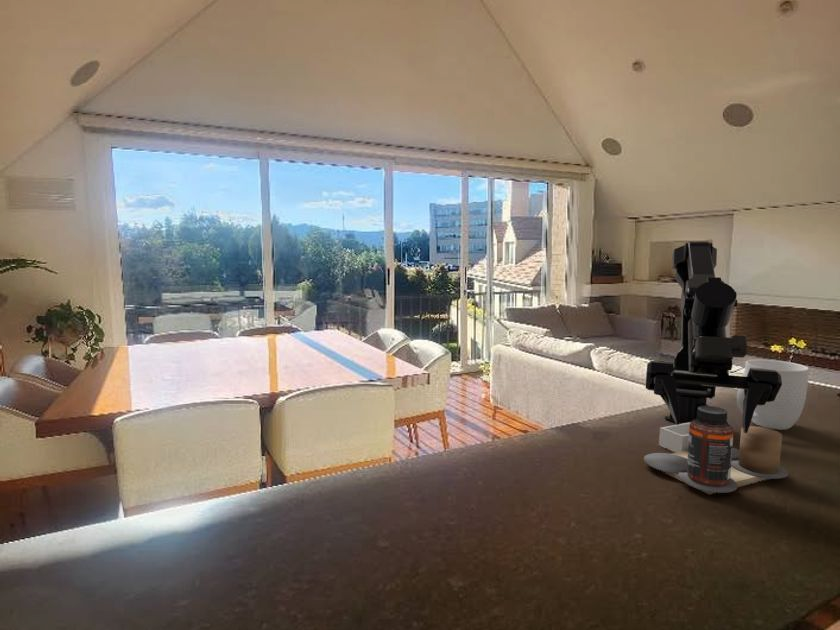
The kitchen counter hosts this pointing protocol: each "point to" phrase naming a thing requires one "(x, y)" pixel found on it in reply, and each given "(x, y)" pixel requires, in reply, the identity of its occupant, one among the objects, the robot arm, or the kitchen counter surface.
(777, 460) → the board
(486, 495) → the kitchen counter surface
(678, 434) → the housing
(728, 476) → the supplement bottle
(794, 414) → the mug
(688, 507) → the kitchen counter surface
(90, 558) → the kitchen counter surface
